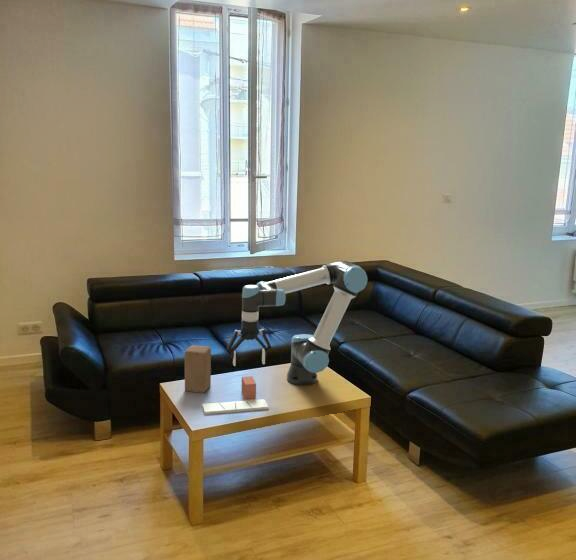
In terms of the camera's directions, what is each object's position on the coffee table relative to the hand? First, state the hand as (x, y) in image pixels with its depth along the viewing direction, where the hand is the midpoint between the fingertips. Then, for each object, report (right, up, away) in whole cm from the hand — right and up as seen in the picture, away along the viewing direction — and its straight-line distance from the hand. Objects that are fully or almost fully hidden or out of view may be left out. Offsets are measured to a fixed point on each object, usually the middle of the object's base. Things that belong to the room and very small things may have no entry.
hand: (248, 364), depth 264 cm
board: (-5, -18, -9) cm, 21 cm away
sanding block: (0, -15, +4) cm, 16 cm away
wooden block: (-25, -13, +10) cm, 30 cm away
